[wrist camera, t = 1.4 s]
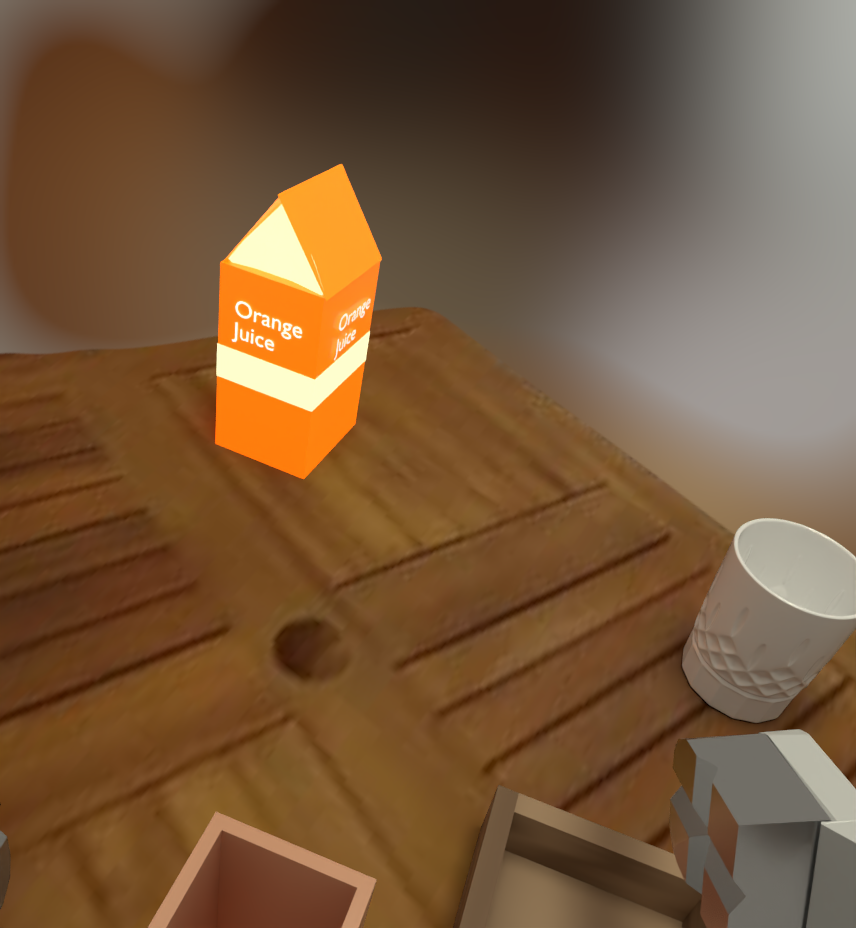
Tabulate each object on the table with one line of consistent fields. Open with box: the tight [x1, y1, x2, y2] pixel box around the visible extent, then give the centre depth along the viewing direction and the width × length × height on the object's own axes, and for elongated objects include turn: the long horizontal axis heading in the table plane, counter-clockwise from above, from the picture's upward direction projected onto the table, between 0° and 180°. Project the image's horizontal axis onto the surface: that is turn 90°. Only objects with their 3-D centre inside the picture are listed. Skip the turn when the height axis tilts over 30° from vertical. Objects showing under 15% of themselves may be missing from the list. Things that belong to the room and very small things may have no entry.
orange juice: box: [215, 164, 382, 479], centre depth 57 cm, size 8×9×20 cm
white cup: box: [682, 518, 856, 723], centre depth 48 cm, size 8×8×10 cm
